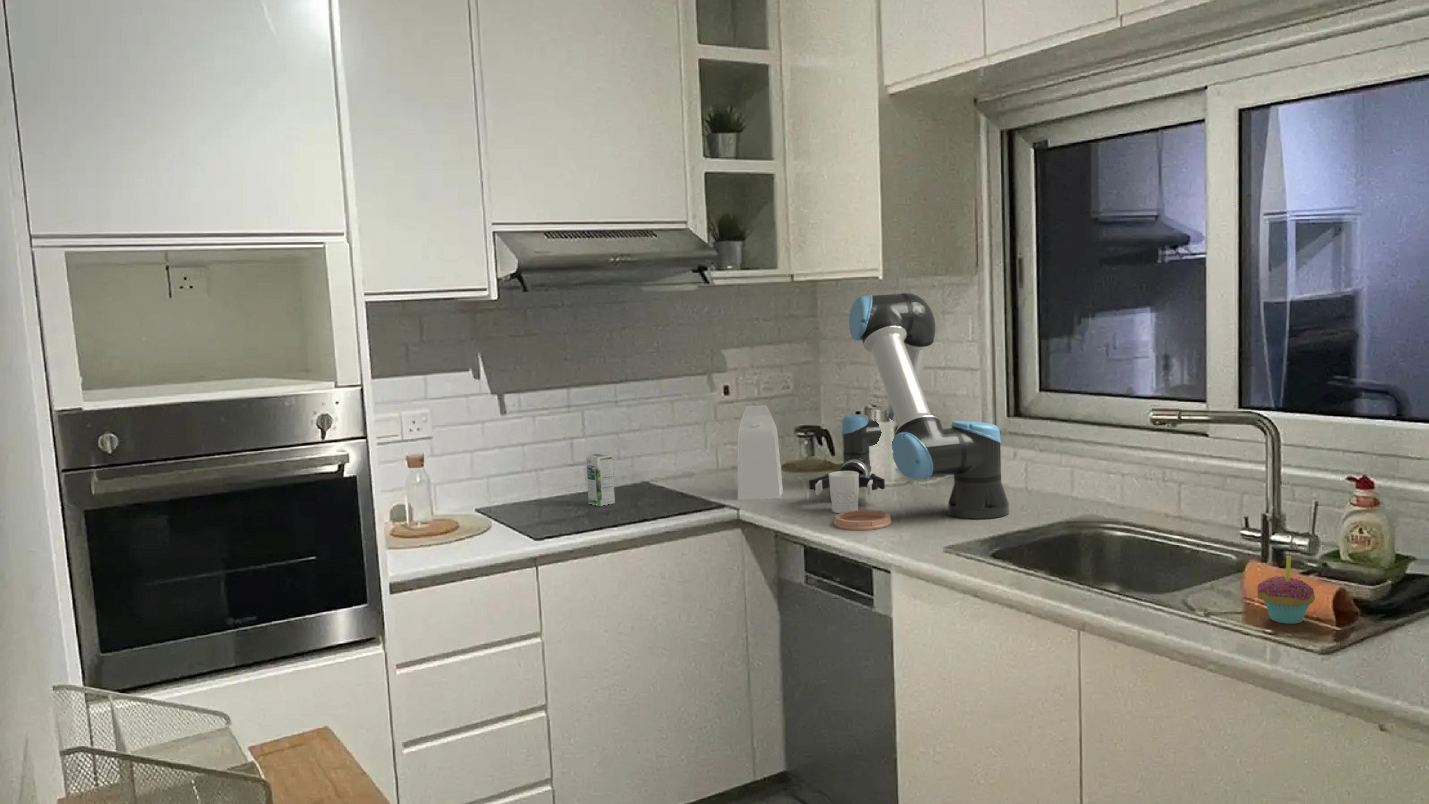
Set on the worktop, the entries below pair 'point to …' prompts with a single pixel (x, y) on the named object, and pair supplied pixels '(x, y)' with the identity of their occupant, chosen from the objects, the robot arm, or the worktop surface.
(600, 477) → the syrup box
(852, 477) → the white cup
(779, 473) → the milk
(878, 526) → the saucer
